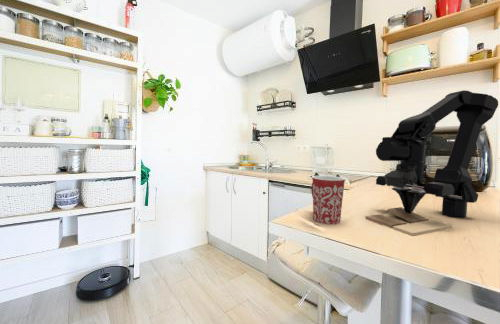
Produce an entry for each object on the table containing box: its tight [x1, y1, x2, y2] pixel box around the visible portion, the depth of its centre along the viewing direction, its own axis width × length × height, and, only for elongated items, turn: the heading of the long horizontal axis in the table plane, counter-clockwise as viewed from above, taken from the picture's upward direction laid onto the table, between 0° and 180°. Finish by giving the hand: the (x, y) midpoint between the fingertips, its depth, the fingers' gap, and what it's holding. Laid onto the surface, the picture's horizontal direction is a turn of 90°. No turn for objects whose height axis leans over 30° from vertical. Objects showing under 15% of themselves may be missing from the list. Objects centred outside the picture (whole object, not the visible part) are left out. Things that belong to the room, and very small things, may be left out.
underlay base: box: [392, 219, 454, 237], centre depth 61 cm, size 16×14×2 cm
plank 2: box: [387, 206, 430, 223], centre depth 64 cm, size 6×8×1 cm
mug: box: [311, 175, 346, 227], centre depth 64 cm, size 13×9×14 cm
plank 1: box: [364, 213, 408, 229], centre depth 61 cm, size 6×8×1 cm
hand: (408, 212), depth 65 cm, fingers closed
